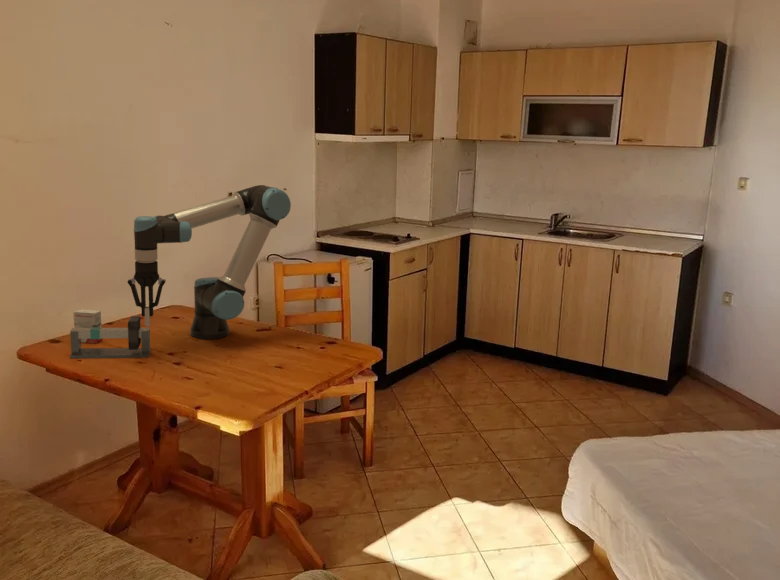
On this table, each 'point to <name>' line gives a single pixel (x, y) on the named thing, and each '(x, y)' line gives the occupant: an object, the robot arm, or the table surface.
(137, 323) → the ring collar
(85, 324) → the ink box
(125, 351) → the pipe rail
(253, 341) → the table surface
